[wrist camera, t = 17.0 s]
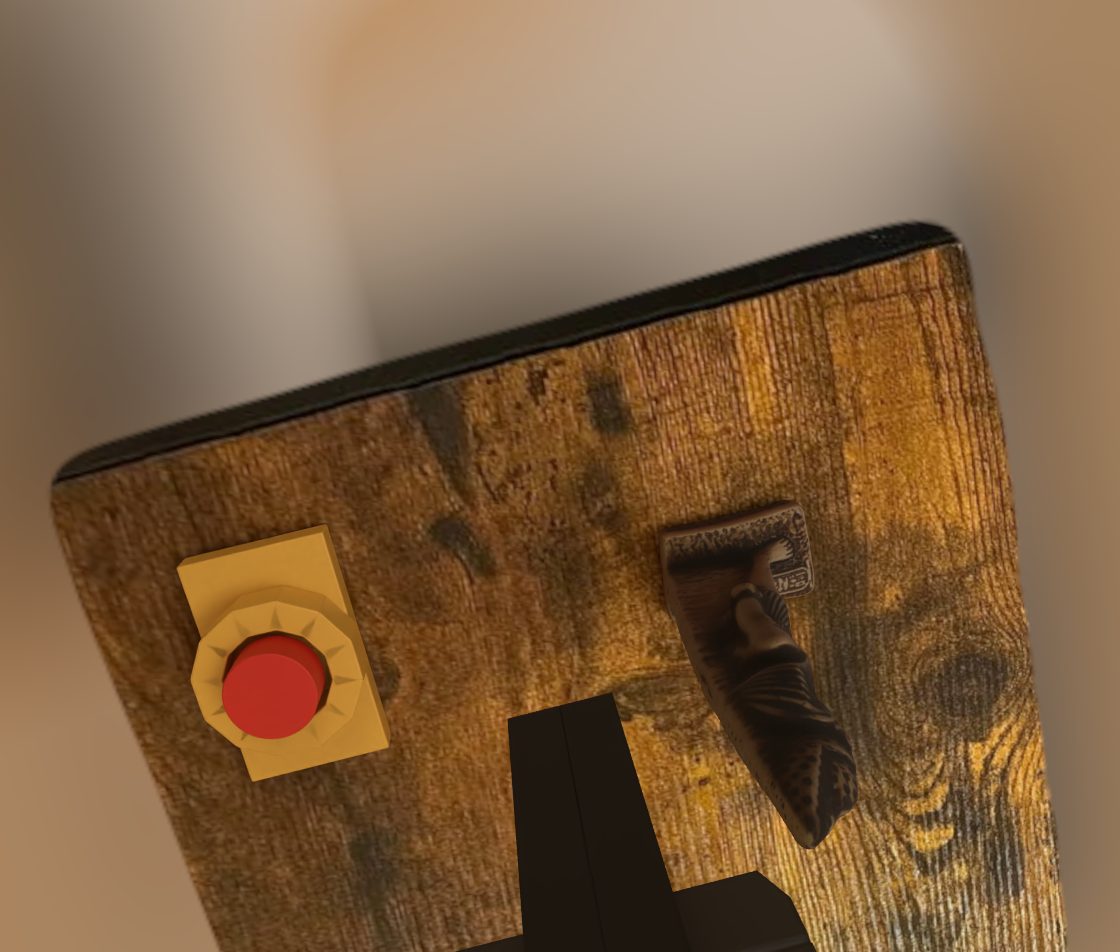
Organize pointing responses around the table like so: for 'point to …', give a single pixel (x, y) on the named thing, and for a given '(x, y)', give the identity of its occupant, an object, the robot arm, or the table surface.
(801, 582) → the statue
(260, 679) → the button
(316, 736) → the button block
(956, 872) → the table surface
